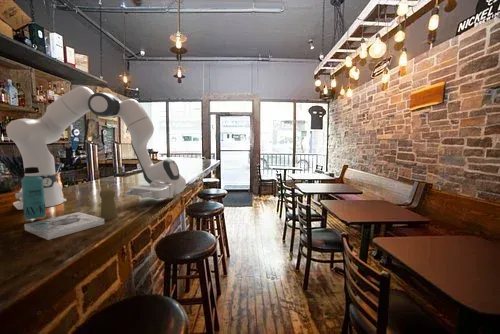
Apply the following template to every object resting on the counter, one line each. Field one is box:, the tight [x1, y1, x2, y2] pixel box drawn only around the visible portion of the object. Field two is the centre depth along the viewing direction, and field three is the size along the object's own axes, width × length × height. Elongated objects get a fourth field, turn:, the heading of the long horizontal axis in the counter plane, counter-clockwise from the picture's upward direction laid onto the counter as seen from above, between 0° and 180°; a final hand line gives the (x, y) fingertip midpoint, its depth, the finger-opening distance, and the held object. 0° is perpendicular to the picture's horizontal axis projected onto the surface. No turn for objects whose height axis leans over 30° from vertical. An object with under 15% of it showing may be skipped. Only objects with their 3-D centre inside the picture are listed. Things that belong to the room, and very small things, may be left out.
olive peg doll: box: [99, 188, 119, 221], centre depth 100 cm, size 6×6×11 cm
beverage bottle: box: [20, 167, 47, 220], centre depth 96 cm, size 6×7×20 cm
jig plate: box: [24, 211, 105, 241], centre depth 90 cm, size 17×17×2 cm
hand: (133, 194), depth 111 cm, fingers open, 8 cm apart
